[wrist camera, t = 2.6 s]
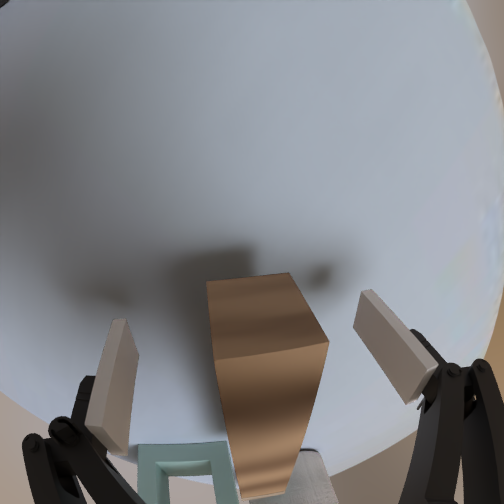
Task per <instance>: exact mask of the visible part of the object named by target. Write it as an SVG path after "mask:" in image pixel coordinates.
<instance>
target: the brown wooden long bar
mask: <svg viewBox="0 0 504 504" xmlns="http://www.w3.org/2000/svg"><path fill="white" fill-rule="evenodd" d="M206 286H207V298H208V309H209V319H210V329H211V339H212V348H213V357H214V364H215V370H216V376H217V382H218V388H219V393H220V399H221V404H222V410H223V415H224V420H225V425H226V430H227V435H228V440H229V444H230V449H231V454H232V458H233V463H234V467H235V472H236V476H237V480H238V484H239V489H240V494H241V499H242V501H245V500H252V499H259V498H265V497H270V496H276V495H280V494H285V492H286V487H287V484H288V482H289V479H290V477H291V474H292V471H293V468H294V466H295V463H296V460H297V457H298V454H299V451H300V448H301V445H302V442H303V439H304V436H305V433H306V429H307V426H308V423H309V420H310V416H311V413H312V409H313V406H314V402H315V399H316V395H317V391H318V388H319V384H320V380H321V376H322V372H323V368H324V364H325V359H326V355H327V351H328V346H329V340H328V338H327V336H326V335H325V333H324V331H323V330H322V328H321V326H320V324H319V323H318V321H317V319H316V317H315V316H314V314H313V312H312V311H311V309H310V307H309V306H308V304H307V302H306V300H305V299H304V297H303V295H302V294H301V292H300V290H299V289H298V287H297V285H296V284H295V282H294V280H293V278H292V277H291V275H290V273H281V274H272V275H263V276H254V277H244V278H235V279H225V280H215V281H206Z"/></svg>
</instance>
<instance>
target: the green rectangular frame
mask: <svg viewBox="0 0 504 504" xmlns="http://www.w3.org/2000/svg"><path fill="white" fill-rule="evenodd" d="M200 475H212V477H213V484H214V490H215V496H216V502H217V504H239V500H238V495H237V491H236V485H235V480H234V475H233V470H232V464H231V459H230V454H229V450H228V446H227V441H221V442H210V443H196V444H172V445H148V444H138V481H137V483H138V484H137V487H138V495H139V496H140V497H141V498H142V500H143V501H144V502H145V503H146V504H170V498H169V481H168V476H200Z"/></svg>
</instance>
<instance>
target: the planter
mask: <svg viewBox="0 0 504 504" xmlns="http://www.w3.org/2000/svg"><path fill="white" fill-rule="evenodd" d="M249 503H250V504H339V503H338V500H337V497H336V495H335V493H334V489H333V487H332V484H331V482H330V479H329V476H328V473H327V470H326V468H325V465H324V462H323V459H322V457H321V455H320V454H319V453H317V452H314V451H309V450H300V451H299V454H298V457H297V460H296V463H295V466H294V468H293V471H292V474H291V477H290V479H289V482H288V484H287V487H286V492H285V494H280V495H276V496H270V497H265V498H259V499H252V500H249Z"/></svg>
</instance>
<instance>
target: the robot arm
mask: <svg viewBox="0 0 504 504" xmlns="http://www.w3.org/2000/svg"><path fill="white" fill-rule="evenodd" d="M7 1H8V0H0V7H1V6H2V5H3V4H4V3H5V2H7ZM353 328H354V329H355V331H356V332H357V334H358V335H359V337H360V338H361V339H362V341H363V342H364V344H365V345H366V347H367V348H368V349H369V351H370V352H371V354H372V355H373V357H374V358H375V360H376V361H377V363H378V364H379V365H380V367H381V368H382V370H383V371H384V373H385V374H386V376H387V377H388V379H389V380H390V382H391V383H392V385H393V386H394V388H395V389H396V391H397V392H398V394H399V395H400V397H401V398H402V400H403V401H404V403H405V405H407V404H410V403H412V402H414V401H416V400H417V399H418V398H419V396H420V395H421V393H422V394H423V395H424V398H423V400H422V401H421V403H420V404H419V406H418V407H417V410H419V408H420V407H421V406H422V407H421V414H420V420H419V426H418V431H417V437H416V441H415V446H414V451H413V455H412V459H411V463H410V467H409V471H408V474H407V478H406V482H405V485H404V488H403V491H402V494H401V497H400V500H399V503H398V504H458V503H457V502H456V501H454V494H455V489H456V484H457V478H458V472H459V466H460V458H461V459H462V470H463V487H464V504H504V403H503V400H502V397H501V394H500V391H499V388H498V385H497V382H496V379H495V377H494V374H493V371H492V368H491V366H490V364H489V363H488V362H487V361H485V360H483V359H476V360H475V361H474V362H473V363H472V365H471V366H469V367H463V368H461V367H460V366H459V365H457V364H455V363H447V362H446V361H445V360H444V359H443V358H442V357H441V356H440V354H439V353H438V352H437V351H436V350H435V349H434V348H433V346H431V344H430V343H429V342H428V341H426V338H425V337H424V336H423V335H422V334H421V333H419V332H418V331H416V330H415V329H411V330H409V329H408V328H407V327H406V326H405V325H404V323H403V322H402V321H401V320H400V319H399V318H398V317H397V316H396V315H395V314H394V312H393V311H392V310H391V309H390V308H389V307H388V306H387V305H386V304H385V303H384V302H383V300H382V299H381V298H380V297H379V296H378V295H377V294H376V293H375V292H374V291H373V290H372V289H370V290H364V291H361V294H360V299H359V304H358V308H357V312H356V317H355V321H354V325H353ZM138 359H139V353H138V351H137V348H136V346H135V343H134V340H133V337H132V334H131V332H130V329H129V326H128V323H127V320H126V319H113V321H112V324H111V327H110V330H109V333H108V336H107V340H106V343H105V346H104V349H103V353H102V356H101V360H100V363H99V367H98V370H97V374H96V376H87V375H86V376H85V378H84V379H83V380H82V382H81V383H80V386H79V389H78V394H77V396H76V401H75V404H74V407H73V411H72V415H71V419H70V418H68V417H66V416H60V417H57V418H55V419H54V420H53V421H51V423H50V425H49V429H48V432H49V435H50V437H51V438H46V439H43V438H42V437H41V436H40V435H38V434H36V433H34V434H32V433H31V434H29V435H27V436H26V437H25V438H24V440H23V442H22V450H23V456H24V462H25V466H26V471H27V476H28V480H29V485H30V488H31V492H32V496H33V499H34V502H35V504H87V502H86V500H85V498H84V495H83V493H82V490H81V487H80V485H79V482H78V479H77V477H76V475H77V476H78V478H79V479H80V481H81V483H82V484H83V485H84V487H85V488H86V490H87V492H88V493H89V494H90V496H91V497H92V499H93V500H94V501H95V503H96V504H146V503H145V502H144V501H143V500H142V498H141V497H140V496H139V495H138V494H137V493H136V492H135V491H134V490H133V489H132V487H131V486H130V485H129V484H128V483H127V482H126V480H125V479H124V478H123V477H122V476H121V474H120V473H119V472H118V471H117V469H116V468H115V467H114V466H113V464H112V463H111V462H110V460H109V459H108V458H107V457H106V454H107V450H108V451H109V452H110V453H111V454H112V455H119V456H128V442H129V430H130V420H131V410H132V402H133V394H134V386H135V379H136V372H137V365H138ZM474 396H476V400H475V398H474Z"/></svg>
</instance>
